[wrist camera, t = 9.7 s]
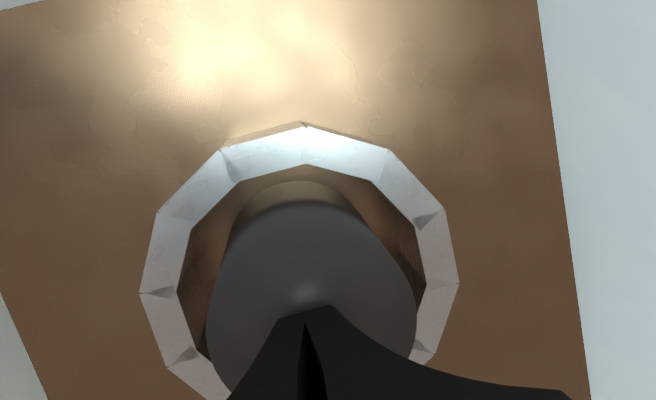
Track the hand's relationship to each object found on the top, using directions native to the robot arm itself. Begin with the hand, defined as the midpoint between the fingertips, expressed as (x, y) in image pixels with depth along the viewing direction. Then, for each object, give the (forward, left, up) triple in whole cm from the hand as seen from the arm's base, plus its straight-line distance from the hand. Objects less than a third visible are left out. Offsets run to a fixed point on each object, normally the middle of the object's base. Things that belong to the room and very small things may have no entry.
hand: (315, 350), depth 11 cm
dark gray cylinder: (0, 0, -7) cm, 7 cm away
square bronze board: (0, 0, -8) cm, 8 cm away
